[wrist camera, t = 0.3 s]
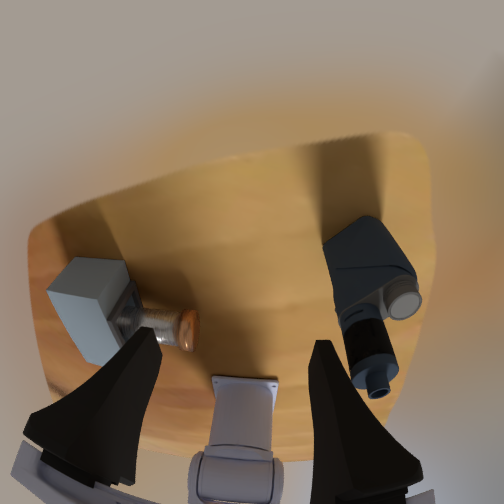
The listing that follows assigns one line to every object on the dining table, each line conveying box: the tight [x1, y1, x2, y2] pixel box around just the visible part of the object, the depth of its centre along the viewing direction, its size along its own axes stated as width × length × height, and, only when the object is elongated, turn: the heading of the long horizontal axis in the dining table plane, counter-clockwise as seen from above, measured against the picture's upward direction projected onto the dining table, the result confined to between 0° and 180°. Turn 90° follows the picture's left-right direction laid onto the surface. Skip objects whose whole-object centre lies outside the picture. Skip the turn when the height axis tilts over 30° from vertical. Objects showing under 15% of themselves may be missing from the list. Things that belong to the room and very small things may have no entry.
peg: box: [116, 305, 200, 352], centre depth 22 cm, size 7×4×4 cm, turn 89°
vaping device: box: [323, 216, 422, 399], centre depth 14 cm, size 3×5×12 cm, turn 133°
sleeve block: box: [46, 257, 143, 366], centre depth 22 cm, size 6×10×5 cm, turn 179°
